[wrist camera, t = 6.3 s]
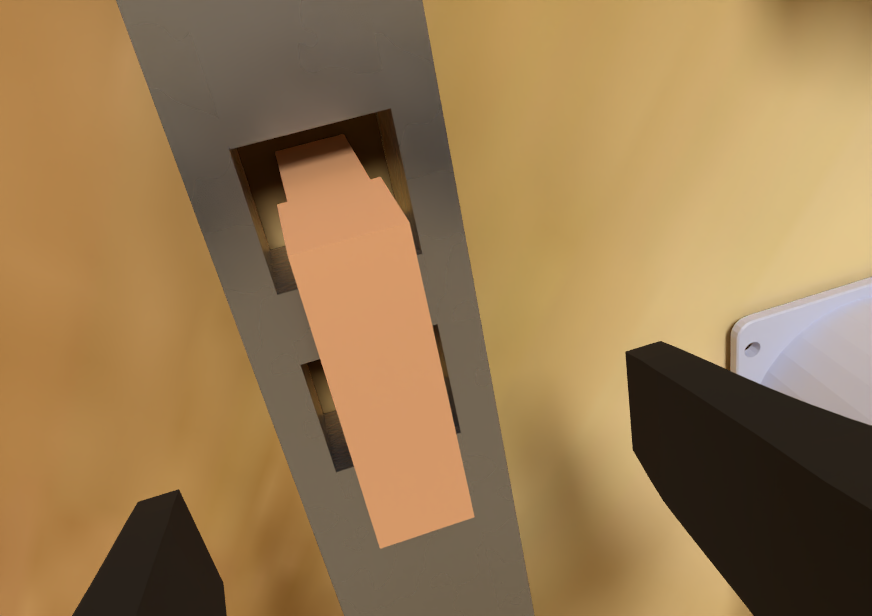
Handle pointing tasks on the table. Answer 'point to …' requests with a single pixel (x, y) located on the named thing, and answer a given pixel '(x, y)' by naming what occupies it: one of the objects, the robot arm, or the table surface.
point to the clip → (373, 338)
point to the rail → (276, 287)
